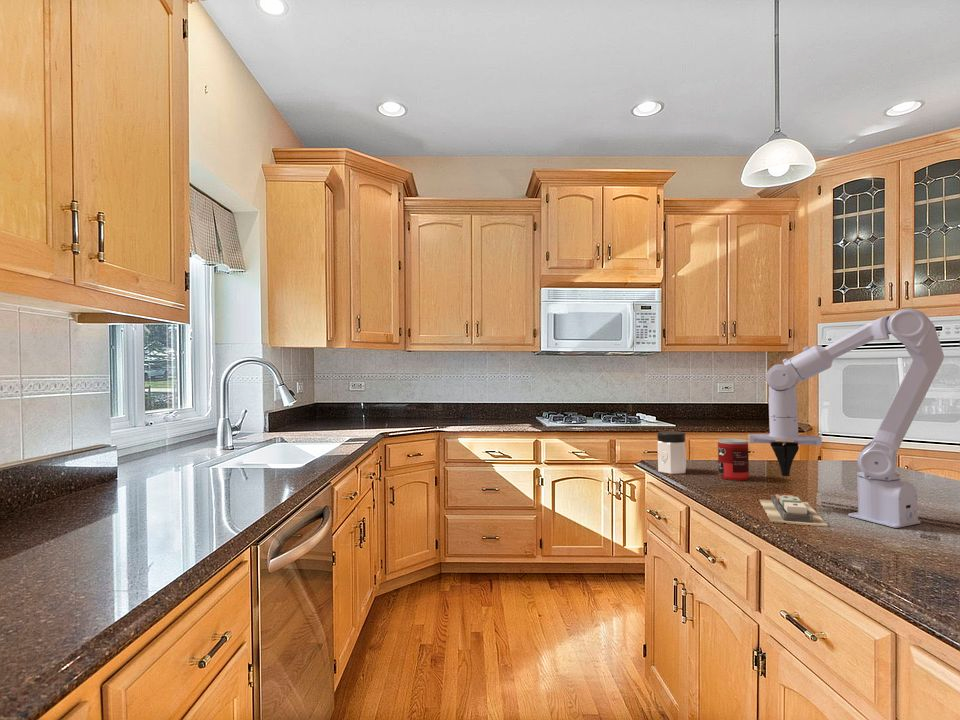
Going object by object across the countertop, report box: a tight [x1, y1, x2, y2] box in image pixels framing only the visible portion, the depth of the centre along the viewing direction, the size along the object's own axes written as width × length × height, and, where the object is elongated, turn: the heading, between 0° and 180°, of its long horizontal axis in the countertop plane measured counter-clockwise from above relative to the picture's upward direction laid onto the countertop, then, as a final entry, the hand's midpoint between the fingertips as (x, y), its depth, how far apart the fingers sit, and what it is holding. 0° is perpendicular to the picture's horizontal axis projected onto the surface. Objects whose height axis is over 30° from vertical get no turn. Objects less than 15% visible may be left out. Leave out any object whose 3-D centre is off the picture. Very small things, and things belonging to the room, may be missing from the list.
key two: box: [779, 496, 802, 506], centre depth 115 cm, size 4×4×2 cm
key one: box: [784, 502, 807, 514], centre depth 110 cm, size 4×4×2 cm
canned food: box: [717, 437, 750, 482], centre depth 150 cm, size 8×8×11 cm
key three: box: [774, 494, 794, 500], centre depth 120 cm, size 4×4×2 cm
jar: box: [656, 430, 687, 475], centre depth 161 cm, size 9×8×12 cm
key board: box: [758, 494, 829, 528], centre depth 115 cm, size 18×10×2 cm, turn 159°
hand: (785, 475), depth 120 cm, fingers closed
